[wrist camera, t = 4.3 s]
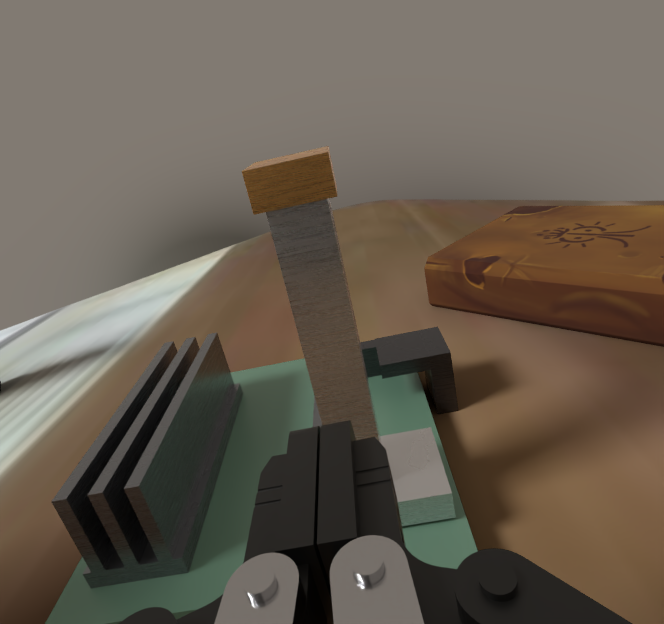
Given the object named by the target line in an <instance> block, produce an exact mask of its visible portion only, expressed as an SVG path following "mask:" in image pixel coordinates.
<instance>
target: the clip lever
mask: <svg viewBox="0 0 664 624" xmlns="http://www.w3.org/2000/svg"><path fill="white" fill-rule="evenodd" d="M242 173H243V177H244V181H245V185H246V188H247V192H248V196H249V199H250V203H251V206H252V210H253V214H259V213H263V212H266V215H267V218H268V222H269V226H270V230H271V233H272V237H273V241H274V245H275V249H276V252H277V256H278V260H279V264H280V267H281V271H282V275H283V279H284V283H285V286H286V290H287V294H288V298H289V301H290V305H291V309H292V313H293V316H294V320H295V324H296V328H297V332H298V335H299V339H300V343H301V347H302V350H303V354H304V358H305V362H306V366H307V369H308V373H309V377H310V381H311V384H312V388H313V392H314V396H315V399H316V403H317V407H318V411H319V415H320V418H321V422H322V425H327V424H332V423H337V422H342V421H347V420H350V421H351V423H352V427H353V431H354V434H355V438H356V440H361V439H366V438H371V437H375V438H376V439H377V440H378V441H379V442H380V443H381V444H382V445H383V446H384V448H385V449H386V452H387V456H388V461H389V465H390V469H391V474H392V478H393V483H394V487H395V491H396V496H397V501H398V506H399V512H400V518H401V523H402V526H407V525H413V524H419V523H426V522H432V521H438V520H444V519H450V518H456V516H455V509H454V502H453V496H452V491H451V488H450V485H449V482H448V479H447V476H446V473H445V469H444V466H443V463H442V460H441V457H440V454H439V451H438V448H437V445H436V441H435V438H434V435H433V432H432V429H431V427H429V428H424V429H418V430H412V431H407V432H401V433H396V434H390V435H384V436H380V433H379V429H378V424H377V419H376V415H375V410H374V405H373V401H372V396H371V391H370V387H369V382H368V377H367V372H366V368H365V363H364V358H363V354H362V349H361V344H360V340H359V335H358V330H357V325H356V321H355V316H354V311H353V307H352V302H351V297H350V293H349V288H348V283H347V278H346V274H345V269H344V264H343V260H342V255H341V250H340V246H339V241H338V236H337V231H336V227H335V222H334V217H333V213H332V208H331V203H330V199H329V198H332V197H337V186H336V180H335V176H334V171H333V166H332V161H331V156H330V152H329V147H328V146H327V147H322V148H318V149H313V150H309V151H304V152H300V153H296V154H291V155H286V156H282V157H278V158H274V159H269V160H265V161H260V162H255V163H253V164H252V165H250V166H249V167H248V168H246V169H245V170H243V171H242Z"/></svg>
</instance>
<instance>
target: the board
mask: <svg viewBox="0 0 664 624" xmlns="http://www.w3.org/2000/svg"><path fill="white" fill-rule="evenodd" d="M231 376H232V379H233V382H234V384H237V383H240V385H241V388H242V391H243V397H242V400H241V403H240V407H239V410H238V413H237V416H236V420H235V423H234V426H233V429H232V433H231V436H230V439H229V443H228V446H227V449H226V452H225V456H224V459H223V462H222V465H221V469H220V472H219V475H218V479H217V482H216V485H215V488H214V492H213V495H212V498H211V501H210V505H209V508H208V511H207V515H206V518H205V521H204V524H203V528H202V531H201V534H200V537H199V541H198V544H197V547H196V550H195V554H194V557H193V560H192V564H191V567H190V570H189V573H184V574H178V575H172V576H166V577H159V578H153V579H147V580H141V581H135V582H128V583H122V584H116V585H110V586H104V587H97V588H90V586H89V585H88V583H87V581H86V579H85V578H84V576H83V572H84V570H85V569H86V567H87V564H86V562H85V561H84V559H83V557H82V558H81V560H80V562H79V563H78V565H77V567H76V569H75V571H74V572H73V574H72V576H71V578H70V580H69V581H68V583H67V585H66V587H65V589H64V590H63V592H62V594H61V596H60V598H59V599H58V601H57V603H56V605H55V607H54V608H53V610H52V612H51V614H50V616H49V617H48V619H47V621H46V623H45V624H119V623H120V622H122V621H123V620H124V619H126V618H127V617H128V616H130V615H132V614H134V613H135V612H138V611H140V610H142V609H146V608H150V607H162V608H165V609H167V610H169V611H170V612H171V613H172V614H173V615H174V617H175V619H176V620H177V619H179V618H181V617H183V616H185V615H187V614H189V613H191V612H193V611H195V610H197V609H199V608H202V607H204V606H206V605H207V604H209V603H211V602H213V601H214V600H216V599H217V598H219V597H220V596H221V595H222V594H223V593H224V590H225V587H226V585H227V582H228V581H229V579H230V577H231V576H232V574H233V573H234V572H235V571H236V570H237V569H238V568H239V567H240V566H241V565H242V564H243V562H244V557H245V552H246V546H247V541H248V536H249V531H250V526H251V521H252V515H253V510H254V507H255V500H256V495H257V493H258V484H259V479H260V474H261V472H262V470H263V469H264V467H265V466H266V464H267V463H268V461H269V460H270V458H271V457H272V456H276V455H282V454H287V446H288V438H289V433H290V431H295V430H300V429H305V428H311V427H313V410H314V392H313V388H312V384H311V381H310V377H309V373H308V369H307V366H306V362H305V358H304V359H299V360H294V361H289V362H284V363H278V364H273V365H268V366H263V367H258V368H253V369H247V370H242V371H237V372H232V373H231ZM368 382H369V387H370V391H371V396H372V401H373V405H374V410H375V415H376V419H377V424H378V429H379V433H380V436H384V435H390V434H396V433H401V432H407V431H412V430H418V429H424V428H429V427H431V429H432V432H433V435H434V438H435V441H436V445H437V448H438V451H439V454H440V457H441V460H442V463H443V466H444V469H445V473H446V476H447V479H448V482H449V485H450V488H451V491H452V496H453V502H454V509H455V516H456V518H450V519H444V520H438V521H432V522H426V523H419V524H413V525H407V526H402V529H403V535H404V540H405V546H406V548H407V550H408V551H409V552H410V553H411V554H412V555H413V556H415V557H416V558H417V559H419V560H421V561H423V562H425V563H427V564H430V565H434V566H439V567H446V568H453V569H457V568H458V566H459V565H460V564H461V562H462V561H463V560H464V559H465V558H466V557H468V556H469V555H471V554H473V553H475V552H477V551H478V550H477V547H476V544H475V541H474V539H473V536H472V533H471V530H470V527H469V524H468V521H467V518H466V515H465V512H464V509H463V506H462V503H461V500H460V497H459V494H458V491H457V488H456V485H455V482H454V479H453V476H452V473H451V470H450V467H449V464H448V461H447V458H446V455H445V452H444V449H443V446H442V443H441V440H440V438H439V435H438V432H437V429H436V426H435V423H434V420H433V417H432V414H431V411H430V408H429V405H428V402H427V399H426V396H425V393H424V390H423V387H422V384H421V381H420V378H419V375H418V372H416V373H411V374H406V375H400V376H395V377H390V378H384V379H382V375H380V376H374V377H369V378H368Z"/></svg>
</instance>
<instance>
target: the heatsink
mask: <svg viewBox="0 0 664 624" xmlns="http://www.w3.org/2000/svg"><path fill="white" fill-rule="evenodd" d="M360 344H361V349H362V354H363V358H364V363H365V368H366V372H367V377H368V378H369V377H374V376H380V375H382V379H384V378H390V377H395V376H400V375H406V374H411V373H416V372H422V371H425V375H426V382H427V385H428V388H429V391H430V394H431V397H432V399H433V402H434V405H435V408H436V411H437V414H441V413H446V412H452V411H458V405H457V397H456V390H455V382H454V375H453V368H452V360H451V353H450V350H449V348H448V346H447V344H446V342H445V340H444V338H443V336H442V334H441V333H440V331H439V329H438V327H434V328H429V329H424V330H419V331H413V332H408V333H403V334H398V335H393V336H388V337H382V338H377V339H375V340H371V341H366V342H360ZM242 397H243V391H242V388H241V385H240V383H237V384H234V382H233V379H232V376H231V373H230V370H229V367H228V364H227V361H226V358H225V355H224V352H223V349H222V346H221V343H220V340H219V337H218V334H217V333H213V334H208V335H207V337H206V339H205V341H204V343H203V345H202V346H201V348H200V349H199V346H198V344H197V341H196V338H195V337H193V338H187V339H186V340H185V341H184V343H183V345H182V346H181V348H180V349H179V351H178V352H177V350H176V347H175V344H174V342H173V341H172V342H167V343H164V345H163V346H162V347H161V349H160V350H159V352H158V353H157V354H156V356H155V357H154V359H153V360H152V361H151V363H150V364H149V366H148V367H147V368H146V370H145V371H144V373H143V374H142V375H141V377H140V378H139V380H138V381H137V382H136V384H135V385H134V387H133V388H132V389H131V391H130V392H129V394H128V395H127V396H126V398H125V399H124V401H123V402H122V403H121V405H120V406H119V408H118V409H117V410H116V412H115V413H114V415H113V416H112V417H111V419H110V420H109V422H108V423H107V424H106V426H105V427H104V429H103V430H102V431H101V433H100V434H99V436H98V437H97V438H96V440H95V441H94V443H93V444H92V445H91V447H90V448H89V450H88V451H87V452H86V454H85V455H84V457H83V458H82V459H81V461H80V462H79V464H78V465H77V466H76V468H75V469H74V471H73V472H72V474H71V475H70V476H69V478H68V479H67V481H66V482H65V483H64V485H63V486H62V488H61V489H60V490H59V492H58V493H57V495H56V496H55V497H54V499H53V500H52V504H53V505H54V507H55V509H56V511H57V512H58V514H59V516H60V518H61V520H62V521H63V523H64V525H65V527H66V528H67V530H68V532H69V534H70V536H71V537H72V539H73V541H74V543H75V545H76V546H77V548H78V550H79V552H80V553H81V555H82V557H83V559H84V561H85V562H86V564H87V567H86V569H85V570H84V572H83V576H84V578H85V579H86V581H87V583H88V585H89V586H90V588H97V587H104V586H110V585H116V584H122V583H128V582H135V581H141V580H147V579H153V578H159V577H166V576H172V575H178V574H184V573H189V570H190V567H191V564H192V560H193V557H194V554H195V550H196V547H197V544H198V541H199V537H200V534H201V531H202V528H203V524H204V521H205V518H206V515H207V511H208V508H209V505H210V501H211V498H212V495H213V492H214V488H215V485H216V482H217V479H218V475H219V472H220V469H221V465H222V462H223V459H224V456H225V452H226V449H227V446H228V443H229V439H230V436H231V433H232V429H233V426H234V423H235V420H236V416H237V413H238V410H239V407H240V403H241V400H242ZM316 426H320V428H321V426H322V422H321V418H320V415H319V411H318V407H317V403H316V399H315V396H314V410H313V427H316Z"/></svg>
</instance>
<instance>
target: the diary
mask: <svg viewBox="0 0 664 624" xmlns="http://www.w3.org/2000/svg"><path fill="white" fill-rule="evenodd" d="M424 269H425V276H426V283H427V290H428V296H429V303H430V304H431V305H432V306H436V307H442V308H448V309H453V310H459V311H465V312H470V313H476V314H482V315H487V316H493V317H499V318H504V319H510V320H516V321H522V322H527V323H533V324H539V325H544V326H550V327H556V328H561V329H567V330H573V331H578V332H584V333H590V334H595V335H601V336H607V337H612V338H618V339H624V340H629V341H635V342H641V343H646V344H652V345H658V346H663V347H664V205H654V206H519V207H517V208H516V209H514V210H512V211H510V212H508V213H507V214H505V215H503V216H501V217H499V218H498V219H496V220H494V221H492V222H490V223H489V224H487V225H485V226H483V227H481V228H480V229H478V230H476V231H474V232H472V233H471V234H469V235H467V236H465V237H464V238H462V239H460V240H458V241H456V242H455V243H453V244H451V245H449V246H447V247H446V248H444V249H442V250H440V251H438V252H437V253H435V254H433V255H431V256H429V257H428V259H427V262H426V265H425V268H424Z"/></svg>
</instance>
